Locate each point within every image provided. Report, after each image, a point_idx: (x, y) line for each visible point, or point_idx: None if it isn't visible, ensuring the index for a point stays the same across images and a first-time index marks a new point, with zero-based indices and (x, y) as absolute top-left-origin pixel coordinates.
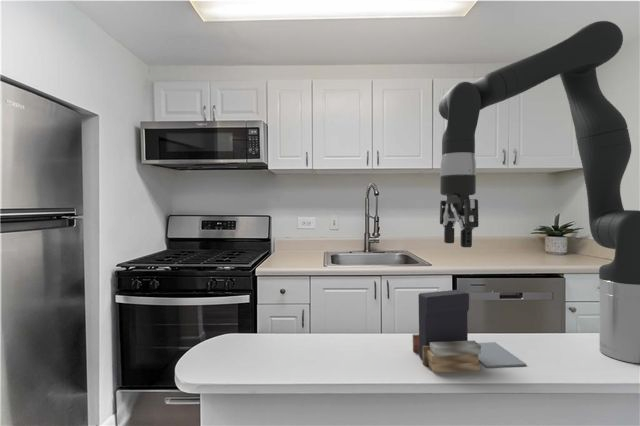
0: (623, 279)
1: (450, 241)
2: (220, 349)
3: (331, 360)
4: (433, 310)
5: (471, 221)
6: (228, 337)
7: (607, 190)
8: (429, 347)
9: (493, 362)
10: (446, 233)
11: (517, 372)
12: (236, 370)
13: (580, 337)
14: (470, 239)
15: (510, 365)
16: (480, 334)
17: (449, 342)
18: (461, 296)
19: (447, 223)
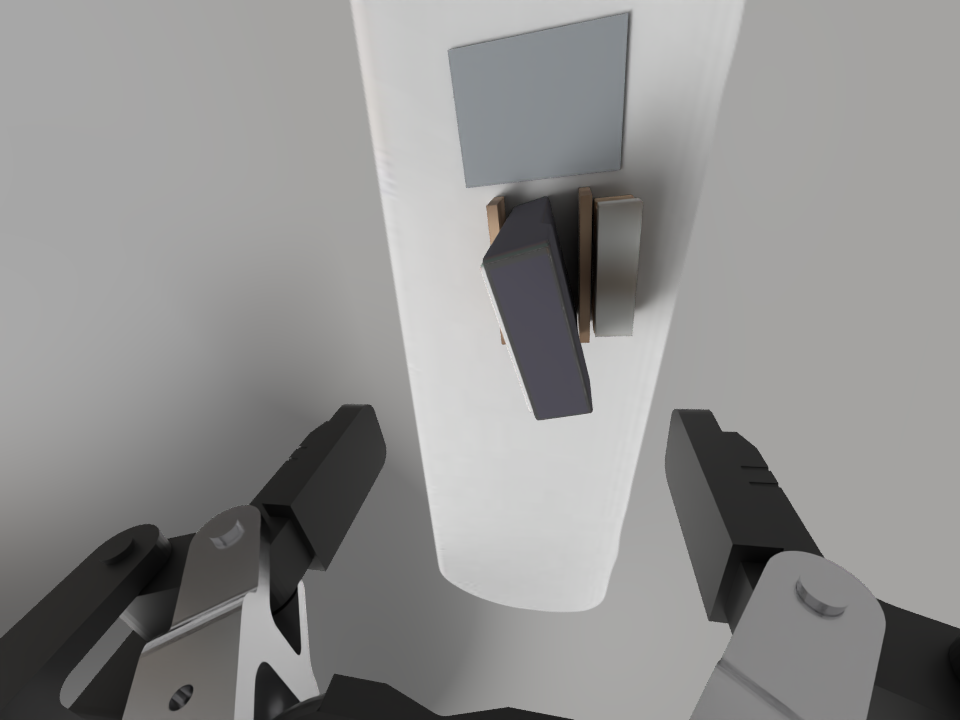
0: None
1: (371, 433)
2: (502, 584)
3: (549, 469)
4: (585, 366)
5: (860, 716)
6: (456, 577)
7: None
8: (589, 328)
9: (602, 135)
10: (349, 515)
11: (663, 77)
12: (574, 570)
13: None
14: (766, 482)
15: (624, 81)
16: (368, 73)
17: (604, 287)
18: (559, 275)
19: (272, 604)
